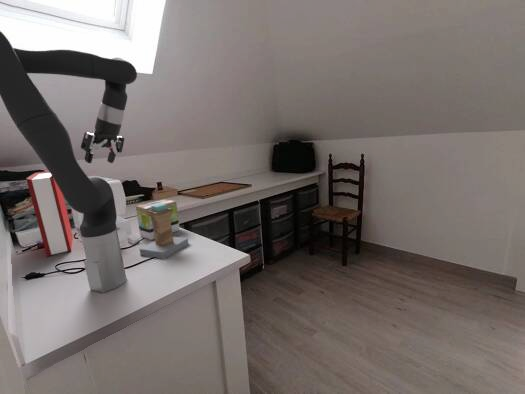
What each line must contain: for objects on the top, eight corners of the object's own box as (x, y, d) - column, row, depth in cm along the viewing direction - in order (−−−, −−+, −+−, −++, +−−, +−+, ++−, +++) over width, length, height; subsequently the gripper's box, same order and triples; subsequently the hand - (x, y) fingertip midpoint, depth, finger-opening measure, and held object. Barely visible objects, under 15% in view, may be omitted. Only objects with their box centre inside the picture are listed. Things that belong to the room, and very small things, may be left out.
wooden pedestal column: (176, 242, 108) (171, 208, 105) (161, 248, 104) (156, 213, 100) (167, 239, 112) (162, 206, 109) (153, 244, 108) (147, 210, 104)
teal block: (167, 212, 105) (166, 204, 105) (158, 214, 102) (156, 207, 102) (161, 210, 108) (160, 203, 107) (152, 213, 105) (151, 205, 104)
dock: (164, 258, 100) (163, 252, 99) (140, 254, 105) (139, 248, 104) (188, 244, 112) (187, 238, 112) (166, 241, 117) (165, 235, 117)
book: (71, 251, 112) (52, 175, 105) (47, 257, 108) (26, 178, 101) (72, 234, 135) (57, 170, 127) (52, 238, 131) (35, 172, 123)
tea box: (152, 240, 119) (146, 208, 115) (140, 236, 125) (134, 205, 121) (180, 230, 130) (176, 200, 127) (168, 226, 136) (164, 198, 133)
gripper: (119, 118, 101) (109, 158, 105) (82, 111, 88) (72, 157, 92) (134, 125, 99) (123, 166, 103) (98, 120, 85) (87, 167, 90)
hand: (99, 162), depth 97 cm, fingers open, 8 cm apart
